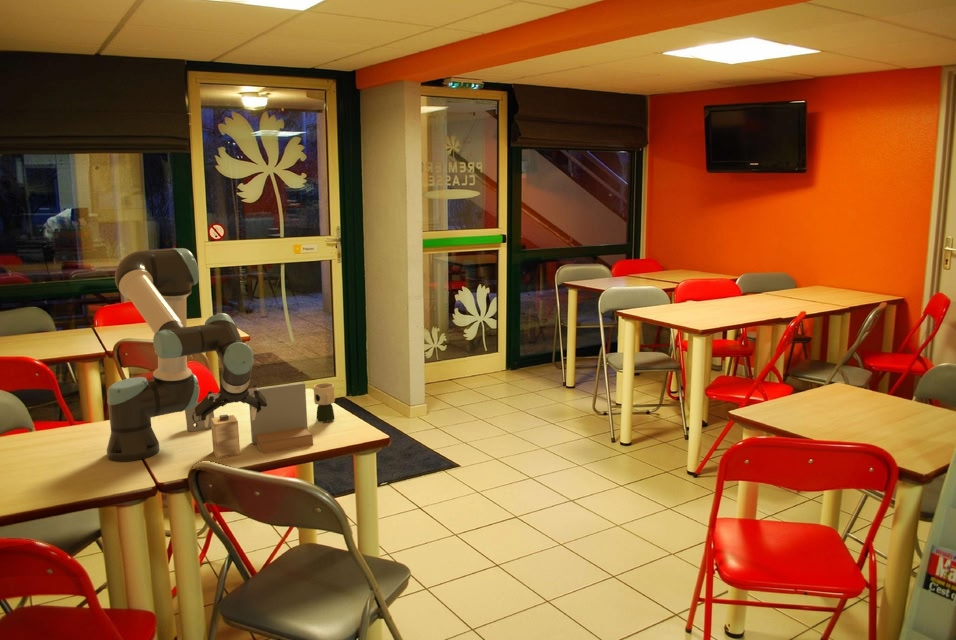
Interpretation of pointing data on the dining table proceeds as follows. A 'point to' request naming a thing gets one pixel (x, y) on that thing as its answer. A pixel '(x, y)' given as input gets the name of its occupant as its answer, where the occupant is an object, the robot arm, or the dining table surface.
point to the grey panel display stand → (281, 419)
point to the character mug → (324, 401)
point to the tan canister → (225, 436)
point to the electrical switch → (196, 420)
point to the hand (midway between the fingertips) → (229, 419)
